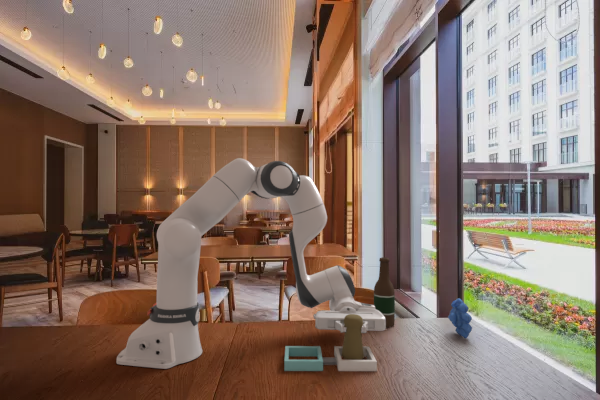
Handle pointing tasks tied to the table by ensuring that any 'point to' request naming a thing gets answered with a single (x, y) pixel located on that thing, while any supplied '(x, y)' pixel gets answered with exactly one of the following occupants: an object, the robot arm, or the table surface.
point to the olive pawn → (353, 338)
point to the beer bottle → (385, 293)
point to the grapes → (460, 318)
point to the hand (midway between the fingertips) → (353, 330)
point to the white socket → (352, 361)
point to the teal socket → (303, 364)
